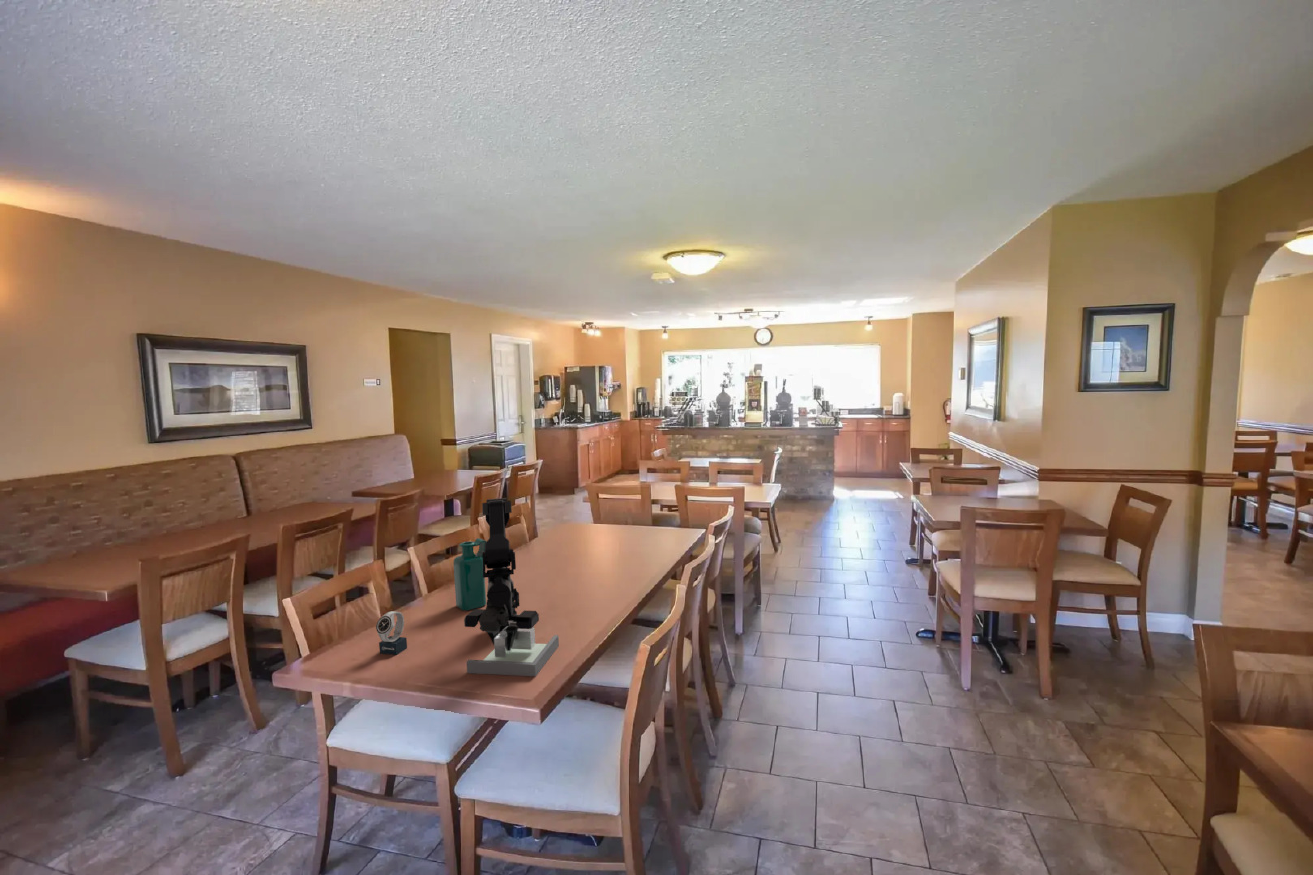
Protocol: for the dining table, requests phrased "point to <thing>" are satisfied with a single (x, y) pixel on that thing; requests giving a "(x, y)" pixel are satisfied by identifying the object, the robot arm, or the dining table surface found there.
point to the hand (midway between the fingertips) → (503, 649)
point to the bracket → (521, 641)
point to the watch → (384, 627)
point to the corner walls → (514, 663)
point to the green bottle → (470, 576)
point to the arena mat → (519, 654)
